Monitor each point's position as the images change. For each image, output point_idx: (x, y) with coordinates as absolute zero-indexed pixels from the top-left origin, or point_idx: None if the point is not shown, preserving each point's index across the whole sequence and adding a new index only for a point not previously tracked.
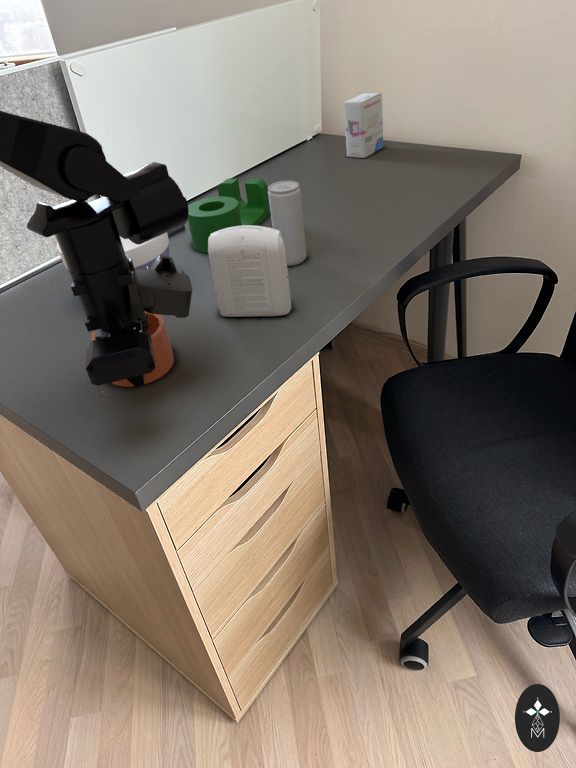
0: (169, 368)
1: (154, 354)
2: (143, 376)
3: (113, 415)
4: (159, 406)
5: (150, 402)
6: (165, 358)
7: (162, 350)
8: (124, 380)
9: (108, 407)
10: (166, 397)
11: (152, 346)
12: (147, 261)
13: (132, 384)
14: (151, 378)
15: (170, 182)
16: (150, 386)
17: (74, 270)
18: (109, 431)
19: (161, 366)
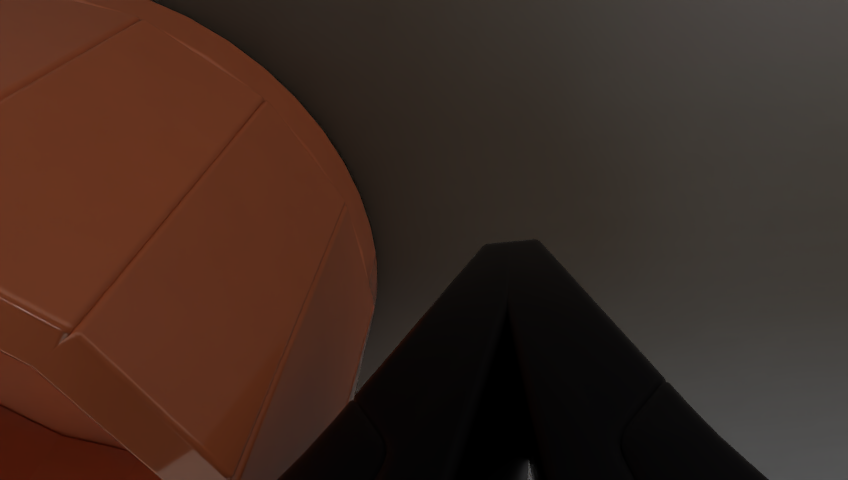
0: (172, 13)
1: (193, 198)
2: (577, 283)
3: (670, 375)
4: (709, 71)
5: (619, 150)
6: (129, 58)
7: (76, 105)
8: (362, 360)
9: None
10: (598, 15)
11: (132, 257)
12: None
13: (375, 295)
14: (332, 166)
15: None
16: (397, 162)
17: None
18: (838, 387)
19: (225, 92)
